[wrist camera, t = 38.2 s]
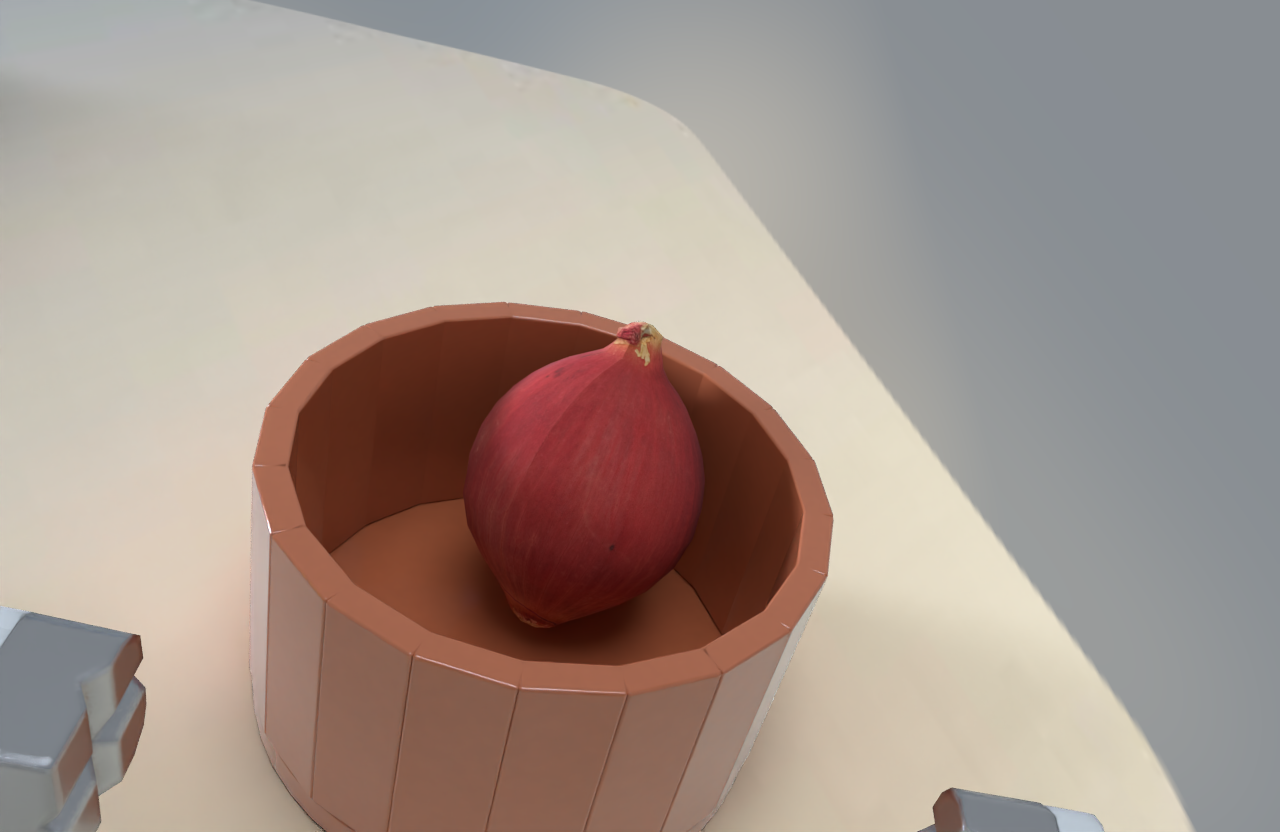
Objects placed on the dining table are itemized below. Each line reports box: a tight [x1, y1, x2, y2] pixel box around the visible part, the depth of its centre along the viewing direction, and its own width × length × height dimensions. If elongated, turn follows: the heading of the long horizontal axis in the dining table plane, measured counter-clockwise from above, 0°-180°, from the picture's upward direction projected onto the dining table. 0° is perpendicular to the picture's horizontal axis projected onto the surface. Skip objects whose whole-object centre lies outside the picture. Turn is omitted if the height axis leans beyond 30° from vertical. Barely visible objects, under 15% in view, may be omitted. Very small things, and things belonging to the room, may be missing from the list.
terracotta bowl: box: [249, 302, 833, 832], centre depth 27 cm, size 12×12×7 cm
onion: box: [463, 321, 705, 628], centre depth 28 cm, size 6×6×8 cm
